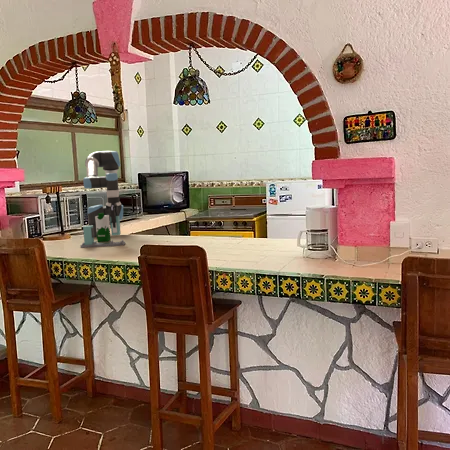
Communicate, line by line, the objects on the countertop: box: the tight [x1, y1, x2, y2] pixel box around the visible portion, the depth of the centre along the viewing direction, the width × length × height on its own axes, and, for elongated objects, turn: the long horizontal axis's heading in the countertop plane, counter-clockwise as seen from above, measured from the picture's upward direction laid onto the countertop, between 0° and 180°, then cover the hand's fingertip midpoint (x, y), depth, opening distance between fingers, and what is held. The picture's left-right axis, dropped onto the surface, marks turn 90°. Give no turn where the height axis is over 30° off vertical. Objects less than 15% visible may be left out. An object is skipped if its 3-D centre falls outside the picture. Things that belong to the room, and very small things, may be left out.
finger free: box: [109, 216, 122, 236], centre depth 317 cm, size 5×6×12 cm
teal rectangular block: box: [82, 225, 95, 245], centre depth 317 cm, size 5×6×12 cm
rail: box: [80, 239, 126, 249], centre depth 318 cm, size 7×28×3 cm, turn 92°
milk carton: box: [95, 213, 112, 243], centre depth 338 cm, size 9×9×20 cm
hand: (115, 231), depth 317 cm, fingers closed on finger free, 5 cm apart
